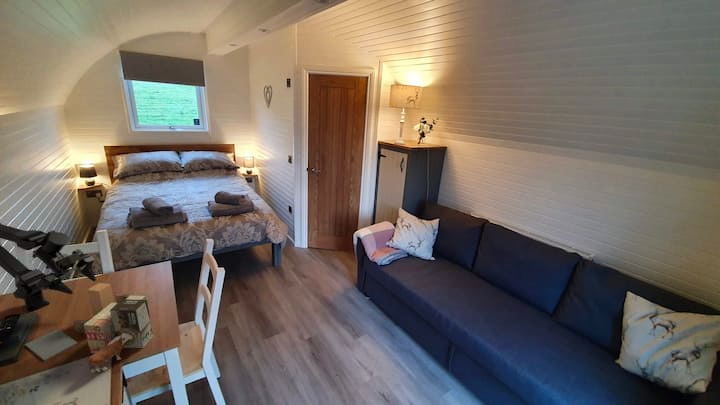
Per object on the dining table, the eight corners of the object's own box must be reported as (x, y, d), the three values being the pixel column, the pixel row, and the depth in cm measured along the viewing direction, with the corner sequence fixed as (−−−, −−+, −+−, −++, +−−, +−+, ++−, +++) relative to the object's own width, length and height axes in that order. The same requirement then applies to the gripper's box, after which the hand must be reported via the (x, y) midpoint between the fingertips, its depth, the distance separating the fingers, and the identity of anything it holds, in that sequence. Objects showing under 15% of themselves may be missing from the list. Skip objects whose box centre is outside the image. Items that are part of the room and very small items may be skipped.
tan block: (94, 320, 122) (87, 289, 118) (105, 312, 127) (99, 282, 123) (105, 322, 122) (98, 291, 118) (116, 314, 127) (110, 284, 123)
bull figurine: (137, 350, 110) (133, 331, 107) (95, 379, 97) (90, 358, 95) (128, 346, 111) (124, 327, 108) (86, 375, 99) (80, 354, 96)
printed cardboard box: (134, 314, 127) (129, 288, 124) (149, 315, 127) (145, 289, 124) (90, 354, 107) (82, 324, 103) (108, 355, 107) (101, 325, 103)
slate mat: (25, 345, 108) (25, 344, 108) (58, 330, 116) (58, 329, 116) (44, 361, 103) (44, 359, 103) (78, 343, 111) (77, 342, 110)
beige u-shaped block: (76, 331, 116) (73, 321, 115) (119, 302, 134) (117, 293, 132) (96, 334, 115) (94, 324, 114) (137, 305, 133) (135, 296, 131)
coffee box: (154, 336, 116) (148, 299, 112) (143, 348, 110) (136, 310, 106) (129, 335, 116) (122, 298, 111) (116, 348, 110) (108, 309, 105)
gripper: (34, 258, 108) (69, 289, 110) (86, 237, 126) (115, 264, 128) (21, 274, 112) (55, 305, 114) (74, 252, 129) (102, 278, 131)
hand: (84, 286), depth 122 cm, fingers open, 9 cm apart
